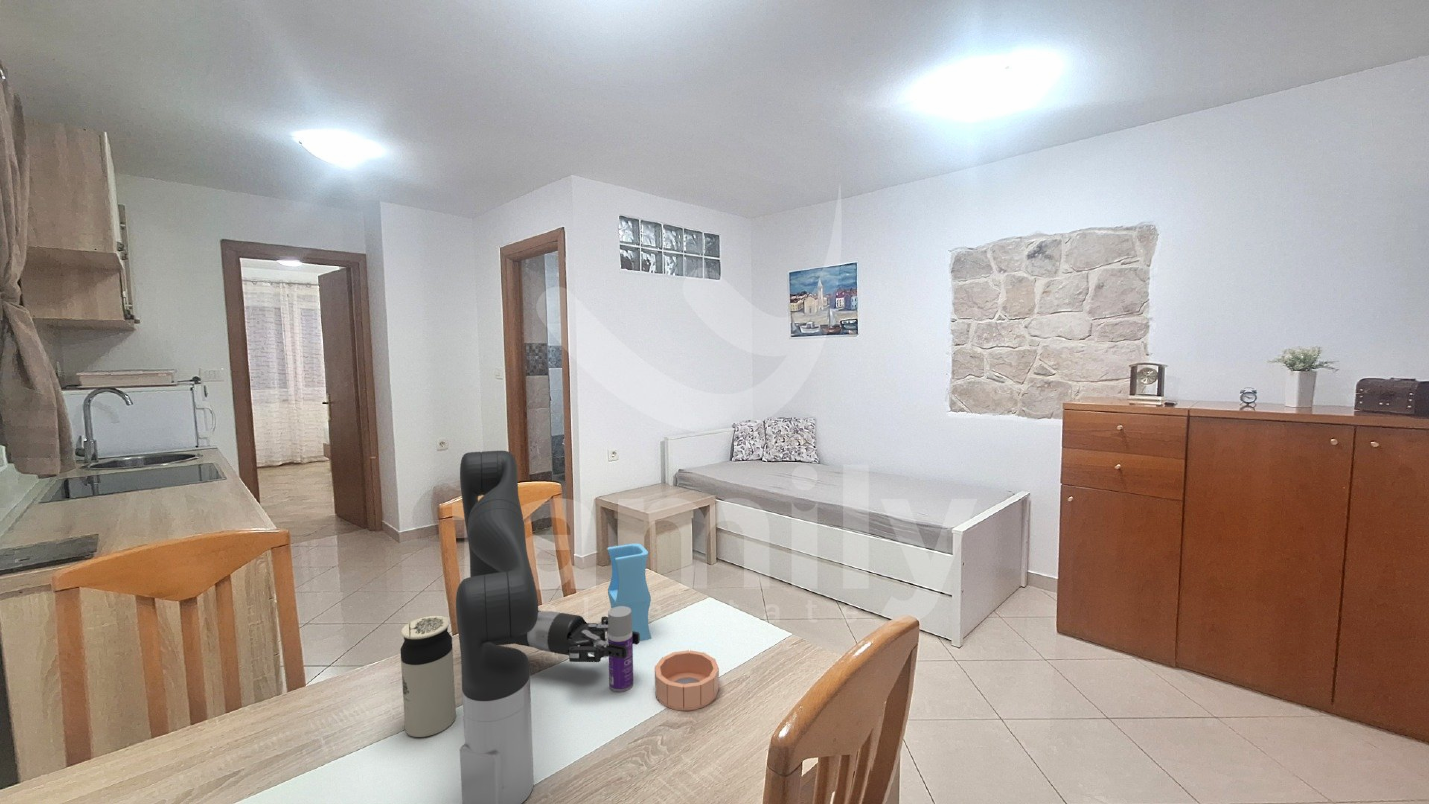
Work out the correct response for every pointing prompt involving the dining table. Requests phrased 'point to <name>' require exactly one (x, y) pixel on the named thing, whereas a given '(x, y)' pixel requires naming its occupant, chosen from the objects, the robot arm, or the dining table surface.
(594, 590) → the dining table surface
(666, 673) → the faceted terracotta pot
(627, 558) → the vase
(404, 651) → the travel mug
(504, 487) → the robot arm
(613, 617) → the container
